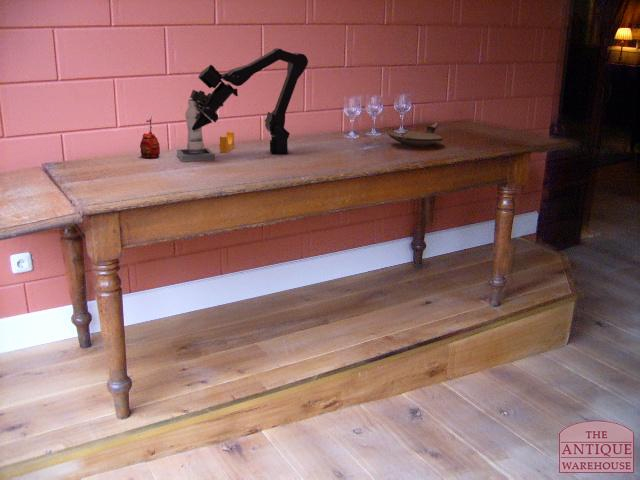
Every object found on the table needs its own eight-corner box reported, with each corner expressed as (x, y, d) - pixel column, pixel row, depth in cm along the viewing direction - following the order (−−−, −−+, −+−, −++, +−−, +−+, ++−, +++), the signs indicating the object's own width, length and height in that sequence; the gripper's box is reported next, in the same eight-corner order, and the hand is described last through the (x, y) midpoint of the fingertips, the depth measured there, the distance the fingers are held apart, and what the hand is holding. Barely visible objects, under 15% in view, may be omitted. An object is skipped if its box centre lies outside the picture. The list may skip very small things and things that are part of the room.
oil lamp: (375, 143, 282) (376, 125, 279) (429, 138, 297) (430, 121, 294) (408, 153, 264) (409, 134, 261) (464, 146, 279) (465, 128, 276)
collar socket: (208, 153, 257) (207, 147, 256) (214, 159, 247) (214, 153, 246) (177, 155, 253) (176, 149, 252) (182, 162, 242) (182, 155, 242)
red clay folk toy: (136, 157, 248) (133, 117, 243) (147, 154, 255) (144, 115, 250) (154, 159, 246) (151, 119, 241) (164, 156, 252) (162, 116, 247)
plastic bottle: (187, 155, 246) (183, 101, 239) (187, 151, 252) (184, 98, 245) (204, 154, 247) (201, 100, 240) (204, 151, 253) (201, 98, 246)
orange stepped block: (224, 147, 271) (223, 131, 269) (234, 147, 270) (234, 131, 268) (216, 152, 260) (215, 136, 258) (226, 153, 259) (226, 137, 257)
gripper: (197, 79, 250) (170, 110, 250) (207, 84, 234) (178, 117, 234) (219, 99, 255) (192, 129, 255) (230, 105, 239) (202, 138, 239)
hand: (190, 128), depth 246 cm, fingers closed on plastic bottle, 6 cm apart
